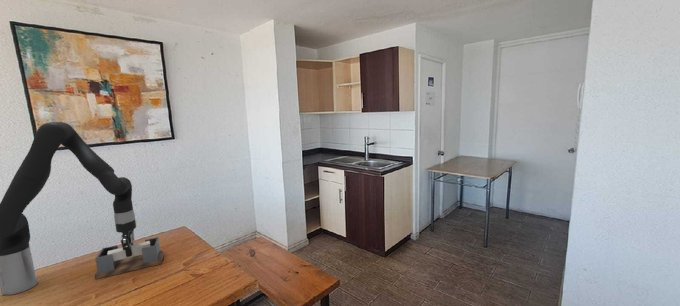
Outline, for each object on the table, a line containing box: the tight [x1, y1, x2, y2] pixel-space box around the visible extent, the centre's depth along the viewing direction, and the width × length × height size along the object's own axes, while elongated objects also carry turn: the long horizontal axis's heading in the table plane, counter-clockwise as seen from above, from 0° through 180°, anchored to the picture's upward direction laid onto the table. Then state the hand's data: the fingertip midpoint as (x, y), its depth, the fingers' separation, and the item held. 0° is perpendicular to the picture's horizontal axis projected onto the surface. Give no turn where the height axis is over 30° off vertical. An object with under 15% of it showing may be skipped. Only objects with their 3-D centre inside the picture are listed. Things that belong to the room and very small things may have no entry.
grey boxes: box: [95, 236, 162, 274], centre depth 131 cm, size 23×11×8 cm, turn 118°
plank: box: [94, 249, 165, 280], centre depth 132 cm, size 25×11×2 cm, turn 118°
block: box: [107, 241, 150, 261], centre depth 131 cm, size 16×4×4 cm, turn 127°
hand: (130, 253), depth 131 cm, fingers closed on block, 4 cm apart
